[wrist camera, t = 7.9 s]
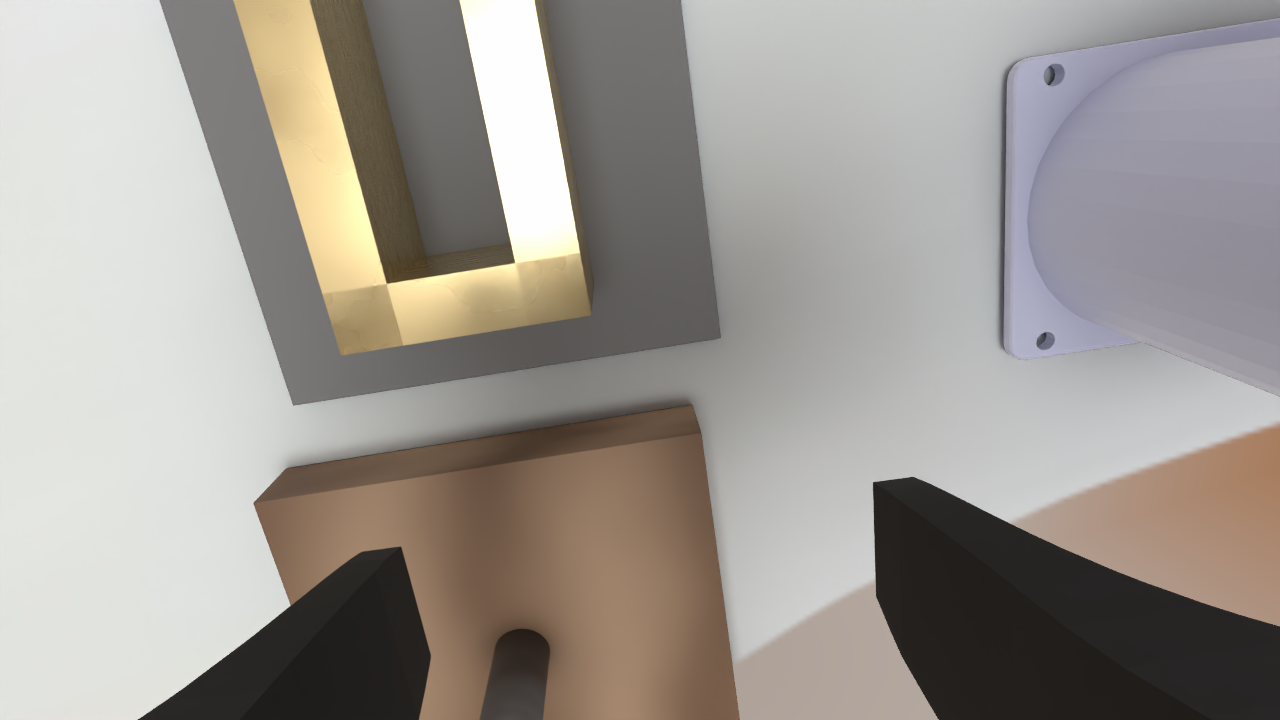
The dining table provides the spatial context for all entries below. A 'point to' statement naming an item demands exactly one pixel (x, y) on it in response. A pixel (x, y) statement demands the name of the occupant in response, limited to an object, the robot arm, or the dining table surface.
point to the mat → (478, 185)
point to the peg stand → (536, 565)
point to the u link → (378, 188)
